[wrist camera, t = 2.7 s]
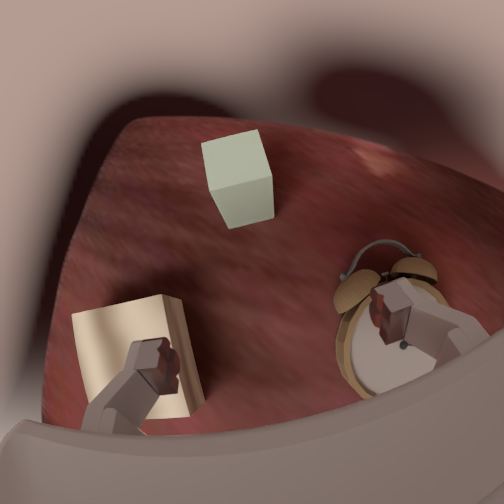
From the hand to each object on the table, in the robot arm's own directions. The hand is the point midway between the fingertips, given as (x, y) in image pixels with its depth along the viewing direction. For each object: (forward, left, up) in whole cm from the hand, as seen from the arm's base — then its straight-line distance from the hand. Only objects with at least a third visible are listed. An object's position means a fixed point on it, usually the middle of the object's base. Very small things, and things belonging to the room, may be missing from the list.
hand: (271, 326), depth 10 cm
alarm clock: (-10, +3, -15) cm, 18 cm away
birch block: (+13, +1, -14) cm, 19 cm away
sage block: (0, -12, -14) cm, 19 cm away
